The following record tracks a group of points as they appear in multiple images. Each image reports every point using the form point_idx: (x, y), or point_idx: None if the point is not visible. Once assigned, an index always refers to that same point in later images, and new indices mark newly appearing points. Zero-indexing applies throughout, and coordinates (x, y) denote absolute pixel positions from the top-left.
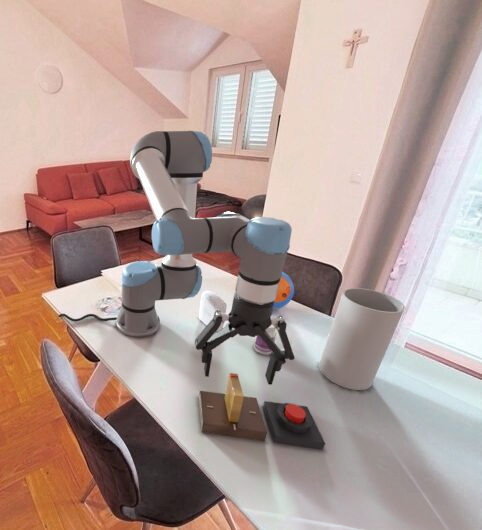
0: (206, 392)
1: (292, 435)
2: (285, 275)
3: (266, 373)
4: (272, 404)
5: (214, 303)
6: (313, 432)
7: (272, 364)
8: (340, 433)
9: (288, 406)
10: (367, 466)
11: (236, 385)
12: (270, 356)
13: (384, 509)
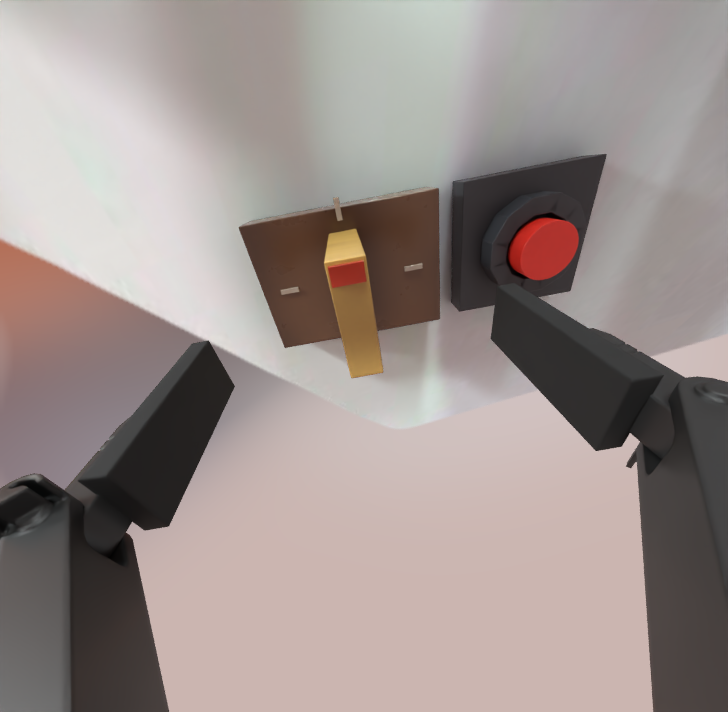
0: (264, 229)
1: None
2: None
3: (507, 305)
4: (487, 190)
5: None
6: None
7: (567, 404)
8: (636, 210)
9: (534, 239)
10: (625, 291)
11: (358, 331)
12: (601, 367)
13: None
